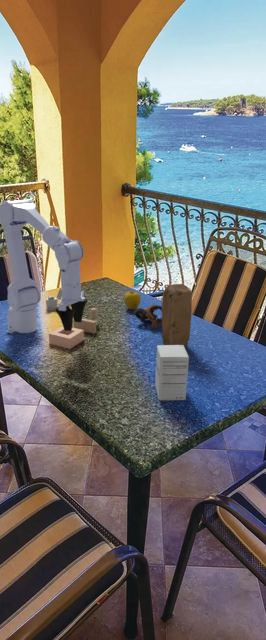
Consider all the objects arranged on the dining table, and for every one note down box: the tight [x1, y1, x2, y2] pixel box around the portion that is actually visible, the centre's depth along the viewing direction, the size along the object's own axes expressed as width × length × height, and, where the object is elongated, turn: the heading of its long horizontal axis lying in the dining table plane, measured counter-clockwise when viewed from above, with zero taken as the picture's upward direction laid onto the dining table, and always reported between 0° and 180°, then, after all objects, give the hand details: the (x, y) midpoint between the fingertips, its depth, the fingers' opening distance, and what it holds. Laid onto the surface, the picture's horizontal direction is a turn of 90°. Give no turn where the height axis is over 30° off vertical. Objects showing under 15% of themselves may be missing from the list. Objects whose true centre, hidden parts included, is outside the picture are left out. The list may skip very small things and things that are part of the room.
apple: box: [123, 289, 141, 311], centre depth 180 cm, size 6×6×8 cm
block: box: [161, 283, 193, 348], centre depth 148 cm, size 11×8×20 cm
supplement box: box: [154, 344, 190, 401], centre depth 119 cm, size 7×7×13 cm
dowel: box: [90, 307, 99, 327], centre depth 161 cm, size 2×2×7 cm
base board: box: [73, 317, 97, 334], centre depth 151 cm, size 14×18×5 cm
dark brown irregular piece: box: [134, 304, 162, 330], centre depth 166 cm, size 12×10×8 cm
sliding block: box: [48, 325, 85, 350], centre depth 147 cm, size 8×8×4 cm
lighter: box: [45, 288, 62, 311], centre depth 178 cm, size 7×2×8 cm, turn 113°
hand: (73, 325), depth 140 cm, fingers open, 7 cm apart
